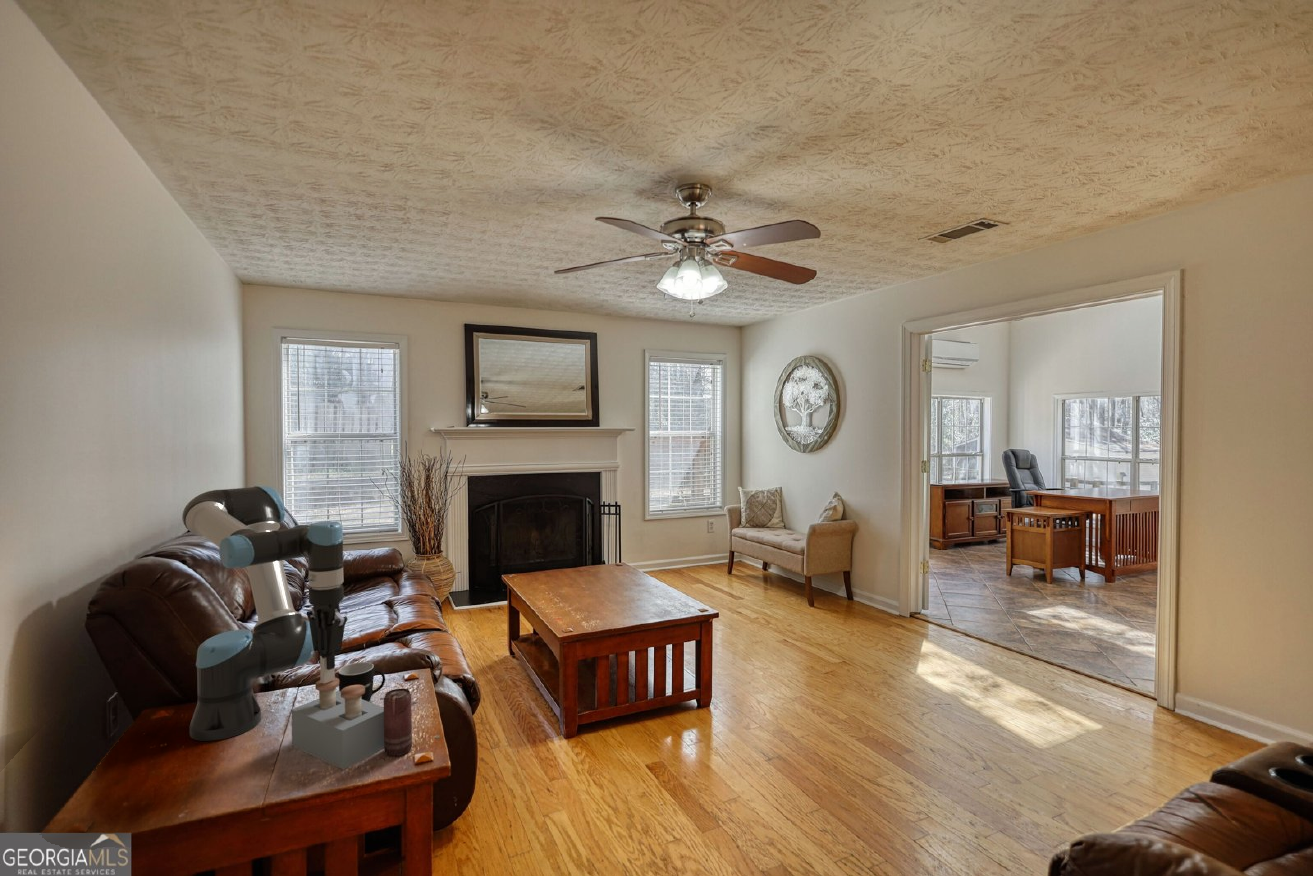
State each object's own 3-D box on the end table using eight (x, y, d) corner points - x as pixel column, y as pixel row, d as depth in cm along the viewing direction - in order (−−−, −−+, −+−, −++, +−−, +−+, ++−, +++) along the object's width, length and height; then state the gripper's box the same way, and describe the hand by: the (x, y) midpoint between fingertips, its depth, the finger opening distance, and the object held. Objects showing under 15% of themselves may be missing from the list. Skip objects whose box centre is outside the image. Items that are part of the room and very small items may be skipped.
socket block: (292, 746, 151) (291, 709, 151) (338, 725, 161) (338, 690, 161) (343, 769, 141) (342, 730, 141) (389, 745, 151) (388, 709, 151)
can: (382, 760, 145) (381, 700, 145) (386, 746, 151) (385, 689, 151) (410, 756, 147) (409, 697, 146) (413, 742, 153) (412, 686, 152)
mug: (341, 715, 167) (341, 677, 166) (335, 702, 174) (335, 666, 174) (389, 703, 174) (389, 667, 174) (381, 691, 181) (381, 657, 181)
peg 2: (336, 732, 148) (335, 691, 147) (356, 722, 152) (356, 683, 152) (350, 737, 145) (349, 696, 145) (370, 728, 149) (369, 687, 149)
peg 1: (311, 723, 153) (310, 683, 152) (331, 714, 157) (331, 676, 157) (324, 728, 150) (323, 688, 150) (344, 719, 154) (343, 680, 154)
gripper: (295, 585, 152) (296, 681, 153) (327, 593, 146) (329, 692, 147) (324, 578, 159) (326, 670, 160) (357, 585, 152) (358, 681, 153)
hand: (327, 681), depth 153 cm, fingers closed
